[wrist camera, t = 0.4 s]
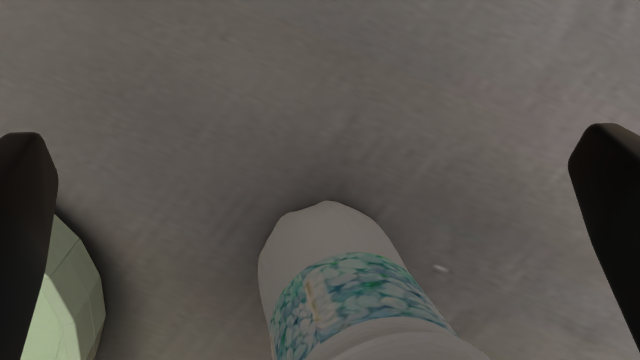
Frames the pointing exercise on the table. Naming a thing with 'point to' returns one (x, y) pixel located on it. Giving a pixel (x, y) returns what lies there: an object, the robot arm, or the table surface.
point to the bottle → (347, 293)
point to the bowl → (66, 303)
